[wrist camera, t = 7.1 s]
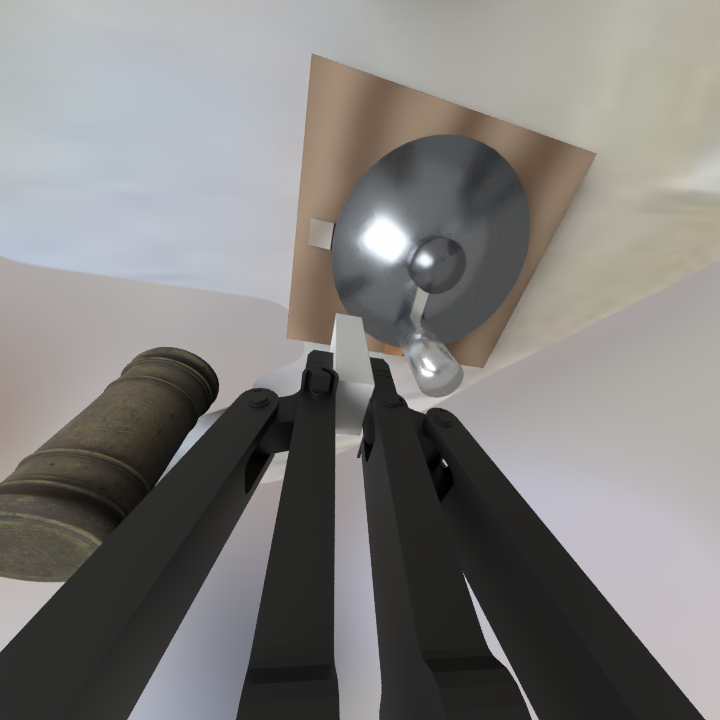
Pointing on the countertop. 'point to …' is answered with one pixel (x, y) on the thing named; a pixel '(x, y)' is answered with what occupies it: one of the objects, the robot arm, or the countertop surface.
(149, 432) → the container
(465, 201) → the dial
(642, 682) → the robot arm
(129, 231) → the countertop surface
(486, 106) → the countertop surface
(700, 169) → the countertop surface
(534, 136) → the stand
